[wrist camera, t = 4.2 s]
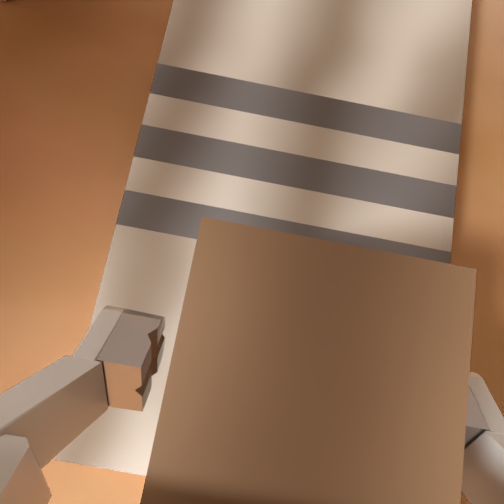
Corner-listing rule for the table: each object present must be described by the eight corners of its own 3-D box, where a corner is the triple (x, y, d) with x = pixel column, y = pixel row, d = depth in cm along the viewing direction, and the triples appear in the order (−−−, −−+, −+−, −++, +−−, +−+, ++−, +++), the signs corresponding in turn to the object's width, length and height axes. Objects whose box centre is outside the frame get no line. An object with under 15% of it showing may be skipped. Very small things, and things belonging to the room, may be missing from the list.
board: (74, 444, 14) (55, 460, 12) (203, -73, 18) (201, -107, 17) (408, 501, 14) (428, 524, 13) (456, -20, 19) (476, -48, 17)
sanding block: (188, 423, 13) (117, 607, 5) (219, 268, 14) (201, 216, 6) (318, 446, 13) (449, 661, 5) (339, 290, 14) (476, 269, 6)
